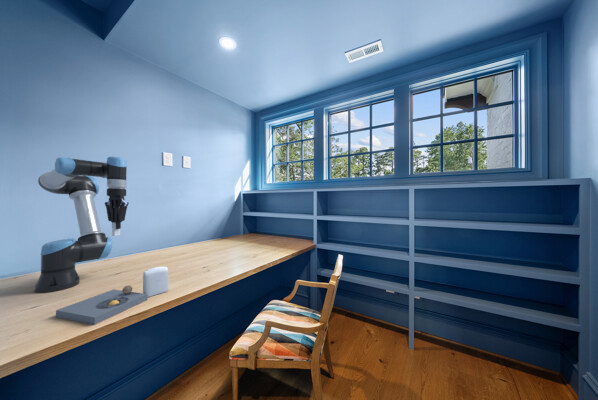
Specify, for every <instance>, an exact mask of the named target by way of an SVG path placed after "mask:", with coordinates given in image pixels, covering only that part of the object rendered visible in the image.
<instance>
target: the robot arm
mask: <svg viewBox="0 0 598 400" xmlns="http://www.w3.org/2000/svg"><path fill="white" fill-rule="evenodd" d="M127 167H128V165H127V159H126V158H124V157H120V156H108V157H107V158H106V162H100V161H92V160H84V159H79V158H78V159H77V158H70V157H58V158H56V160H55V162H54V169H52V170H50V171H47V172H43V174H41V175H40V176H39V177H38V179H37V182H38V184H39V187H41V189H43V190H45V191H46V192H48V193H51V194H56V195H57V194H58V195H68V198H69V199H70V200H72V201H73V203H74V209H75V215H76V219H77V225H78V228H79V234H80V236H78V238H77V240H76V239H75V238H66V239H65V238H64V239H58V240H53V241H48V242H46V243H44V244H43V245H42V246H41V250H40V251H41V252H40V276H39V278H38V280H37V282H36V284H35V287H34V292H35V293H42V294H43V293H51V292H52V293H53V292H57V291H62V290H65V289H69V288H72V287H75V286H77V285H79V284H80V283H81V280H80V276H79V274H78V272H77V270H76V263H77V264H78V263H84V262H89V261H96V260H101V259H105V258H107V257H109V255H110V254H111V251H112V248H113V241H112V240H113V239H112V238H111V237H110V236H106V233H105V232H102V230H101V225H100V220H99V217H98V212H97V209H96V204H95V199H94V198H95V197H97V195H98V194H99V191H100V188H99V187H100V186H99V183H98V180H97V179H96V177H97V178H103V179H106V187H107V188H106V196H107V197H108V201H105V202H104V206H105V208H106V213H107V220H108V222H111V230H112V232H111V236H113V237H117V236H121V227H122V225H121V223H122V222H124V221H125V220H126V216H127V215H126V214H127V211H128V206H129V202H127V201H126V199H125V197H126V196H127Z"/></svg>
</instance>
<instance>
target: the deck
mask: <svg viewBox="0 0 598 400" xmlns="http://www.w3.org/2000/svg"><path fill="white" fill-rule="evenodd" d="M122 290H123V289H122ZM122 290H121V289H110V290H108V291H105V292H102V293H100V294H97V295H94V296H92V297H88V298H86V299H83V300H81V301H78V302H75V303H72V304H70V305H67V306H64V307H61V308H59V309H56V310H55V317H56V318H59V319H65V320H69V321H75V322H79V323H83V324H84V323H85V324H90V325H95V326H96V325H97V324H99V323H101V322H103V321H106V320H108V319H110V318H112V317H114V316H116V315H118V314H120V313H123V312H125V311H127V310H129V309H131V308H133V307H135V306H138V305H139V304H141V303H144V302H146V301H148V298H149V297H148V294H143V292H136V291H135V292H134V291H131V292H130V293H129V294H124V293H123V292H122ZM113 300H117V301H119V303H117V304H115V305H110V306H108V304H109V303H110V302H111V301H113Z"/></svg>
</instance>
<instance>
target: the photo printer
mask: <svg viewBox="0 0 598 400" xmlns="http://www.w3.org/2000/svg"><path fill="white" fill-rule="evenodd" d="M168 291H169V268H168V267H167V266H157V267H156V266H155V267H153V268H149V269H146V270H145V271H143V273H142V293H143V294H148V298H149V297H154V296H156V295H160V294H164V293H166V292H168Z"/></svg>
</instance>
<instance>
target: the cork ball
mask: <svg viewBox="0 0 598 400" xmlns="http://www.w3.org/2000/svg"><path fill="white" fill-rule="evenodd" d="M122 292H123V293H124V294H129V293H130V292H133V287H132V285H125V286H124V287H123V288H122Z"/></svg>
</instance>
